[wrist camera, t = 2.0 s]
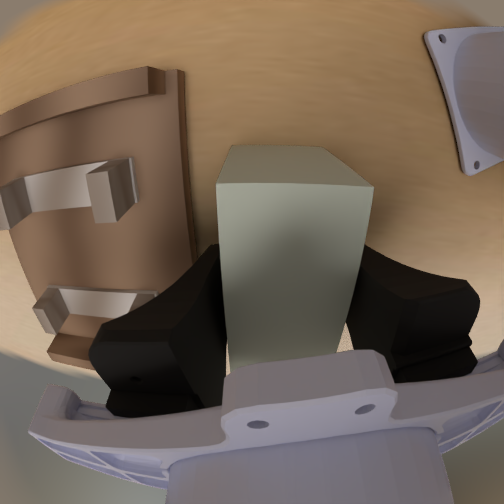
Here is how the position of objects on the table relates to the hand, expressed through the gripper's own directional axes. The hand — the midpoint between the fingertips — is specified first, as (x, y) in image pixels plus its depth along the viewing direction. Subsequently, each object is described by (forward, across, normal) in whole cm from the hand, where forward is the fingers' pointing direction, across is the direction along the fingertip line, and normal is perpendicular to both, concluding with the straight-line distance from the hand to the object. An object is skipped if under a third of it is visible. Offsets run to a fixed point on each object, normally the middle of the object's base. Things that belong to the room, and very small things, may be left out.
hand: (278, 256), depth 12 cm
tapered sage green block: (+2, 0, 0) cm, 2 cm away
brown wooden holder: (+2, +10, -1) cm, 10 cm away
